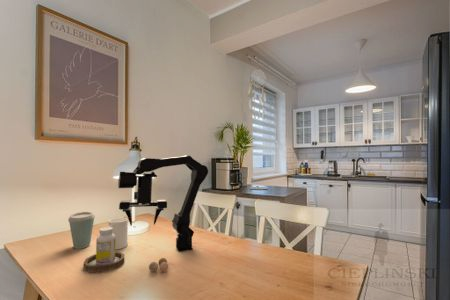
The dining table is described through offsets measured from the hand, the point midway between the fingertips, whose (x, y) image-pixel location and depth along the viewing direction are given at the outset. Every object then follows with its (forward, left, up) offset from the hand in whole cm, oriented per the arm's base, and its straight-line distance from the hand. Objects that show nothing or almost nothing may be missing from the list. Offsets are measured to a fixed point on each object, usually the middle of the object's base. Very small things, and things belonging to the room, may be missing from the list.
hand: (142, 225), depth 99 cm
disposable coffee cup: (+27, -21, -13) cm, 37 cm away
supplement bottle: (+14, +3, -12) cm, 19 cm away
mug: (+12, -15, -13) cm, 23 cm away
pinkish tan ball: (-7, +16, -11) cm, 21 cm away
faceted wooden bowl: (+14, +3, -13) cm, 19 cm away
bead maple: (-4, +15, -11) cm, 19 cm away
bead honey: (-7, +12, -11) cm, 18 cm away
